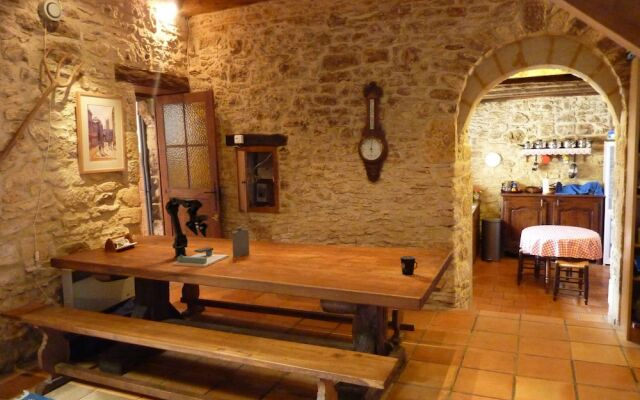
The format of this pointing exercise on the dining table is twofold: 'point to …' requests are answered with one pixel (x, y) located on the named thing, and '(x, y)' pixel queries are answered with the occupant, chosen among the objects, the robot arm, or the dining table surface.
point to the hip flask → (240, 242)
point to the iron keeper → (205, 250)
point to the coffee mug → (408, 265)
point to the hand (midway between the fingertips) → (201, 236)
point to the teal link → (192, 259)
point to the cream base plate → (210, 260)
